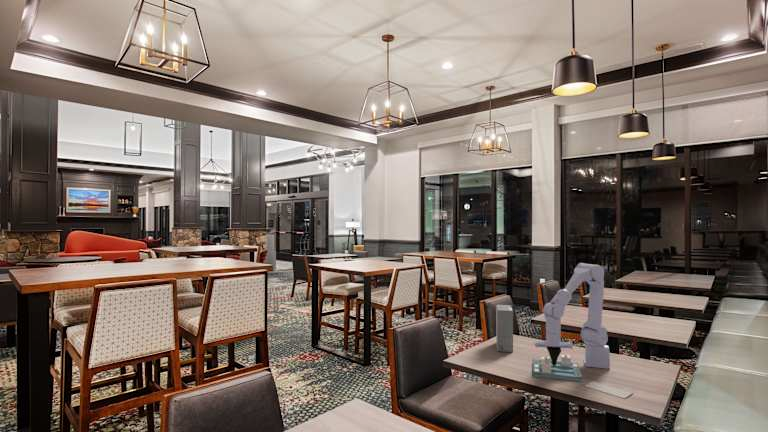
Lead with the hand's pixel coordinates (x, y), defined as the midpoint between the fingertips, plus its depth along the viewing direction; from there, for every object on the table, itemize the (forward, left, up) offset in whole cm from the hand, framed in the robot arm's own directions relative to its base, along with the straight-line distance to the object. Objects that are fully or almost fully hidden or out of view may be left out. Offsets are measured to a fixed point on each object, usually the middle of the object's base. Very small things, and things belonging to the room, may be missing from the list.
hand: (553, 364), depth 173 cm
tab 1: (+3, 0, -2) cm, 4 cm away
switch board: (-1, 0, -3) cm, 3 cm away
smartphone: (-18, +14, -3) cm, 23 cm away
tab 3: (-5, -6, -2) cm, 8 cm away
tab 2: (+3, +6, -2) cm, 6 cm away
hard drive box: (+22, -28, -3) cm, 35 cm away
